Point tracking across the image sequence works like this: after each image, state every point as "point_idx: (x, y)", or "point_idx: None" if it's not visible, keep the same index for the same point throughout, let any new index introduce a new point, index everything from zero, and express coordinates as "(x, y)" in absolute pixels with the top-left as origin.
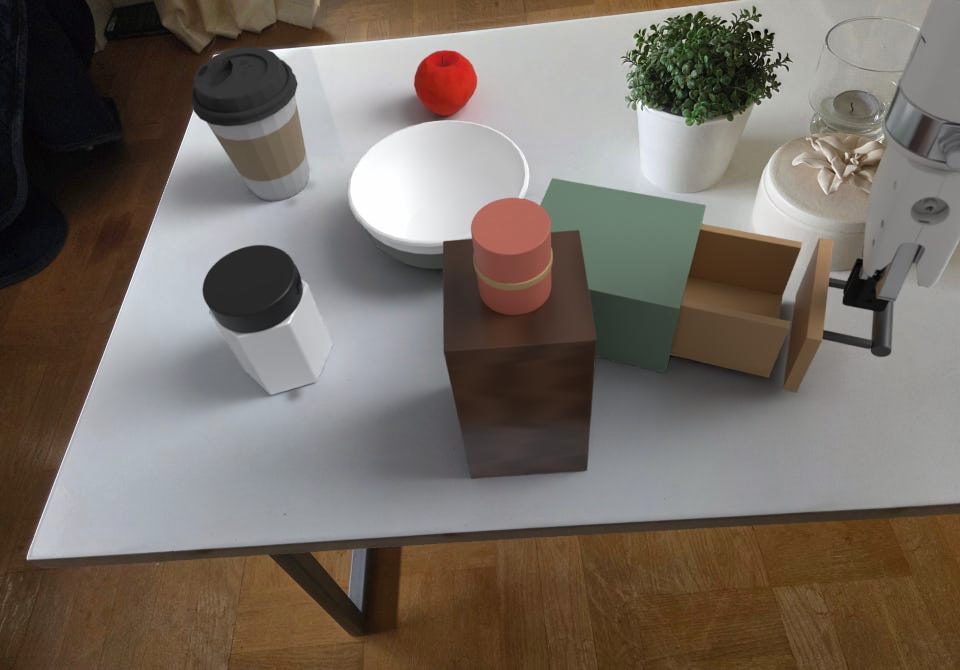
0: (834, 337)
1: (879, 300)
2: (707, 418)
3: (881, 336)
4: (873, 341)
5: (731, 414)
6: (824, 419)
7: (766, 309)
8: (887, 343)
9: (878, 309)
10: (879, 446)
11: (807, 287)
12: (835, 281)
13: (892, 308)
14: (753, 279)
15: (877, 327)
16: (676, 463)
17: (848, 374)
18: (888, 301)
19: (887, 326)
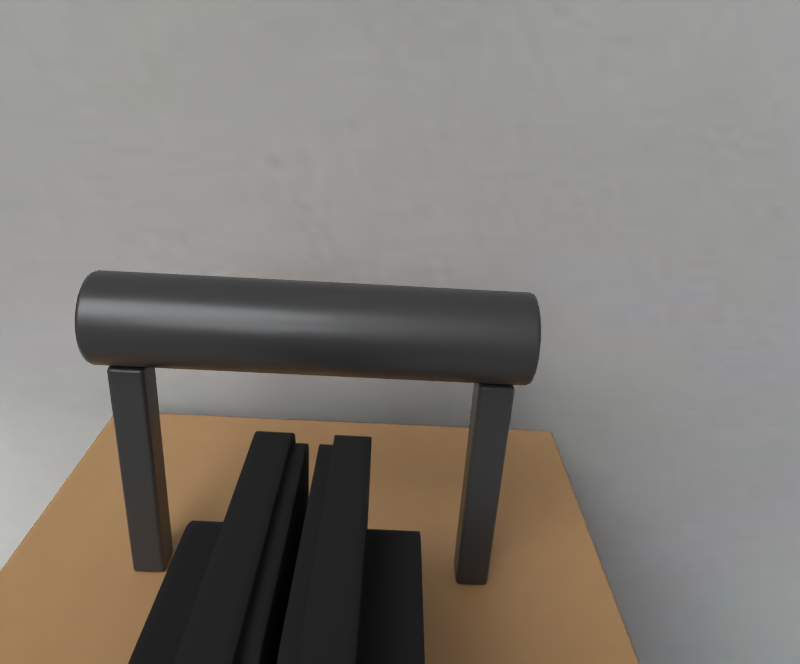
0: (494, 529)
1: (422, 591)
2: (644, 601)
3: (471, 367)
4: (490, 384)
5: (624, 554)
6: (611, 325)
7: None
8: (516, 343)
9: (370, 462)
10: (703, 154)
11: None
12: (148, 533)
13: (247, 304)
14: None
15: (406, 378)
16: (787, 646)
17: (410, 255)
18: (366, 492)
19: (396, 340)
